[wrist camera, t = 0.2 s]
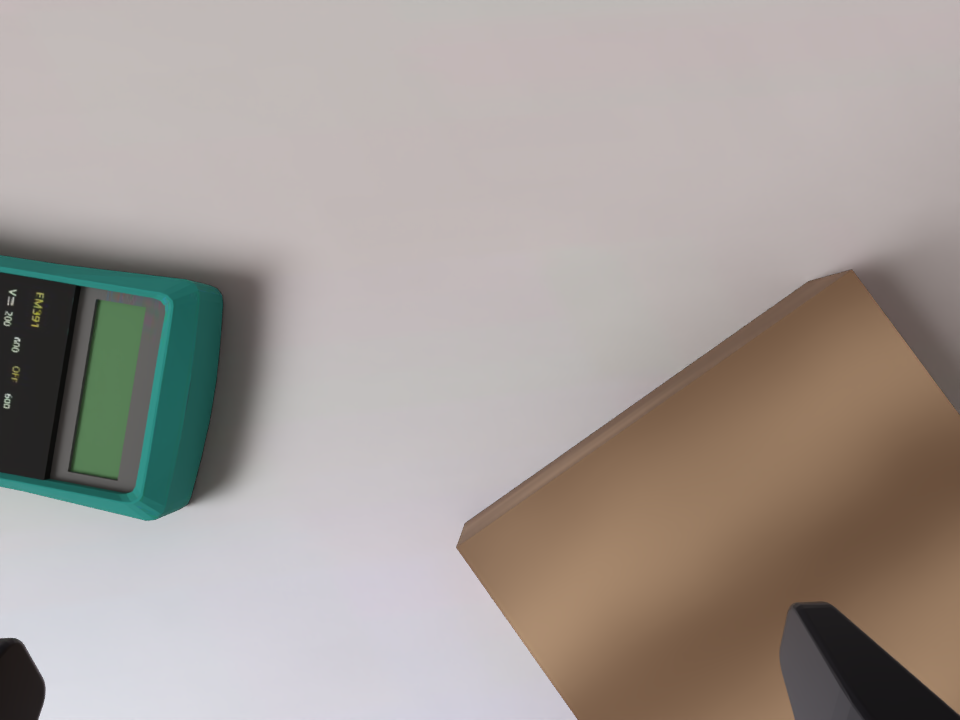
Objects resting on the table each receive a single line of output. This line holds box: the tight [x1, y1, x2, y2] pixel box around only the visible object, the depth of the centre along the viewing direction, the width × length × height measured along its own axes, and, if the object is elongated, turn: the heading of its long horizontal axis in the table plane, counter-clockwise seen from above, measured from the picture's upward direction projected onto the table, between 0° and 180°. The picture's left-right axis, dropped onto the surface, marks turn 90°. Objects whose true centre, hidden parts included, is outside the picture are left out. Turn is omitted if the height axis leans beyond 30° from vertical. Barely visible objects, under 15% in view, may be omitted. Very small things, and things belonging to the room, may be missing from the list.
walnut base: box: [456, 270, 960, 720], centre depth 21 cm, size 13×13×3 cm
